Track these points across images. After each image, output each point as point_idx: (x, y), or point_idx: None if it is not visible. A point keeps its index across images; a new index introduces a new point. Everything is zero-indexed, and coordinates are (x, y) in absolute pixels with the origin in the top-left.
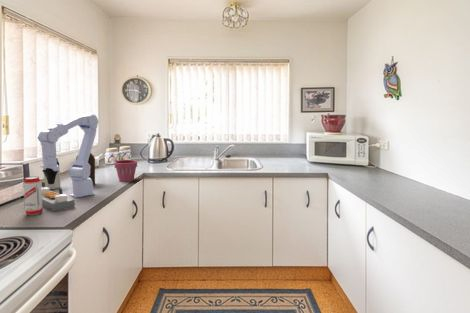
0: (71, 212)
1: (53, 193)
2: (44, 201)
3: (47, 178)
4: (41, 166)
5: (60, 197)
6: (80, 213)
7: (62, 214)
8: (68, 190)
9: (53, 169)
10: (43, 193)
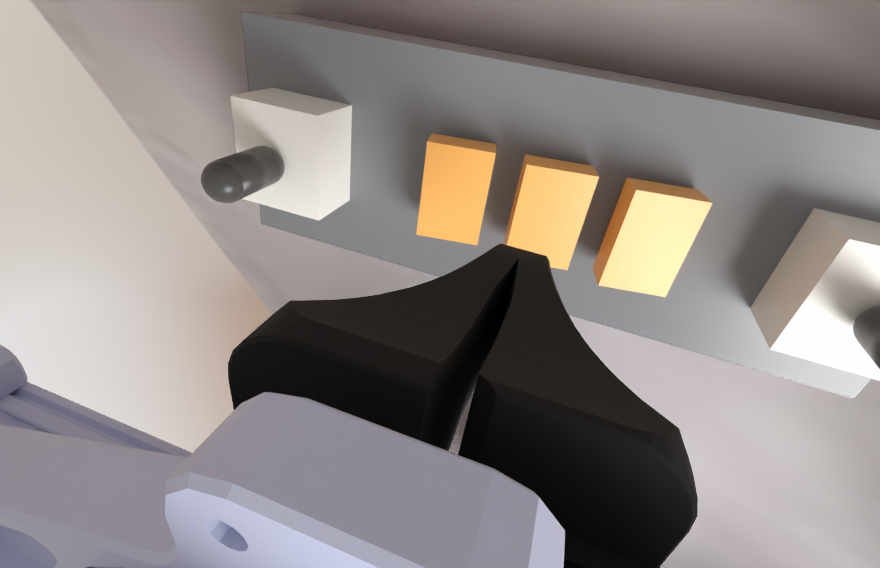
0: (189, 94)
1: (512, 222)
2: (494, 56)
3: (495, 286)
4: (214, 463)
5: (241, 124)
6: (134, 115)
7: (178, 14)
8: (855, 553)
9: (89, 436)
10: (797, 244)
